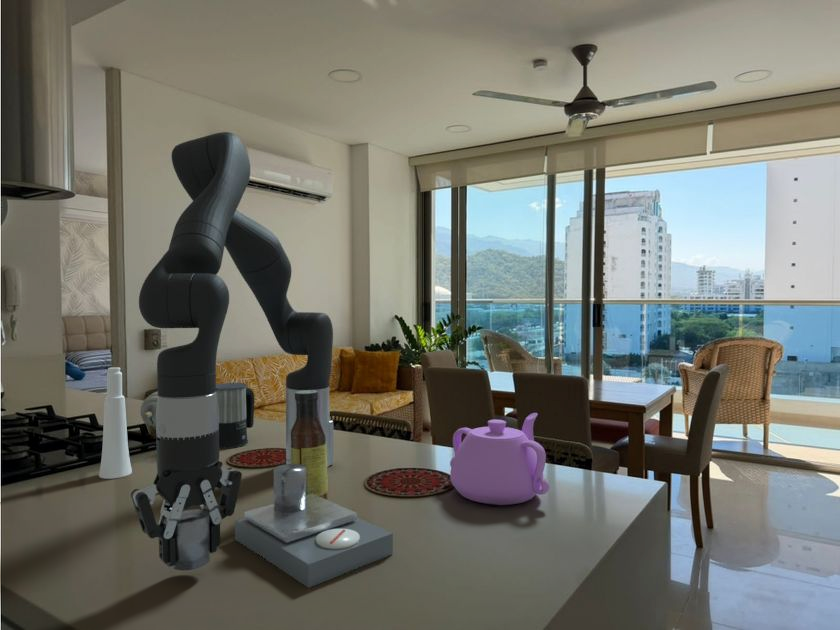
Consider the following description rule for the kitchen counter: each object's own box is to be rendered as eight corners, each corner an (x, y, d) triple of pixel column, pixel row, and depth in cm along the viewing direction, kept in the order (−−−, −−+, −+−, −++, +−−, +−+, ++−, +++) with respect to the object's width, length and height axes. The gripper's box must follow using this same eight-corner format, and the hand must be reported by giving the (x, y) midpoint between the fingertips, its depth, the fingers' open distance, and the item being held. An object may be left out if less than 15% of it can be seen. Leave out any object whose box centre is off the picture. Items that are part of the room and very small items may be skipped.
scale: (313, 515, 97) (313, 494, 97) (392, 554, 83) (392, 529, 83) (235, 539, 88) (234, 516, 87) (308, 587, 73) (308, 559, 73)
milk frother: (240, 449, 139) (240, 388, 139) (175, 449, 140) (175, 387, 139) (258, 435, 154) (258, 379, 153) (199, 435, 154) (199, 379, 154)
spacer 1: (201, 549, 79) (200, 506, 79) (216, 561, 76) (215, 516, 76) (164, 561, 76) (164, 516, 76) (179, 574, 73) (178, 526, 72)
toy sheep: (193, 424, 166) (192, 386, 166) (169, 439, 149) (168, 396, 149) (155, 424, 166) (155, 386, 166) (127, 439, 149) (127, 396, 149)
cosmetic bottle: (128, 477, 117) (127, 369, 117) (95, 480, 116) (94, 370, 115) (134, 469, 123) (133, 365, 123) (102, 471, 121) (101, 366, 121)
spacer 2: (295, 499, 93) (295, 462, 93) (311, 507, 89) (311, 468, 89) (267, 506, 89) (267, 468, 89) (284, 515, 86) (284, 475, 86)
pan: (312, 499, 96) (312, 493, 96) (356, 519, 87) (356, 513, 87) (244, 518, 87) (244, 511, 87) (286, 542, 79) (286, 535, 79)
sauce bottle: (334, 498, 106) (334, 389, 105) (317, 510, 100) (316, 395, 99) (302, 494, 108) (302, 387, 107) (283, 506, 102) (283, 393, 101)
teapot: (584, 491, 110) (585, 418, 110) (520, 523, 95) (521, 438, 94) (490, 467, 125) (490, 403, 125) (421, 492, 110) (422, 419, 109)
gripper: (227, 415, 83) (229, 532, 84) (118, 432, 73) (122, 565, 74) (253, 423, 77) (254, 549, 78) (139, 443, 67) (143, 587, 68)
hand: (190, 556), depth 76 cm, fingers closed on spacer 1, 4 cm apart
